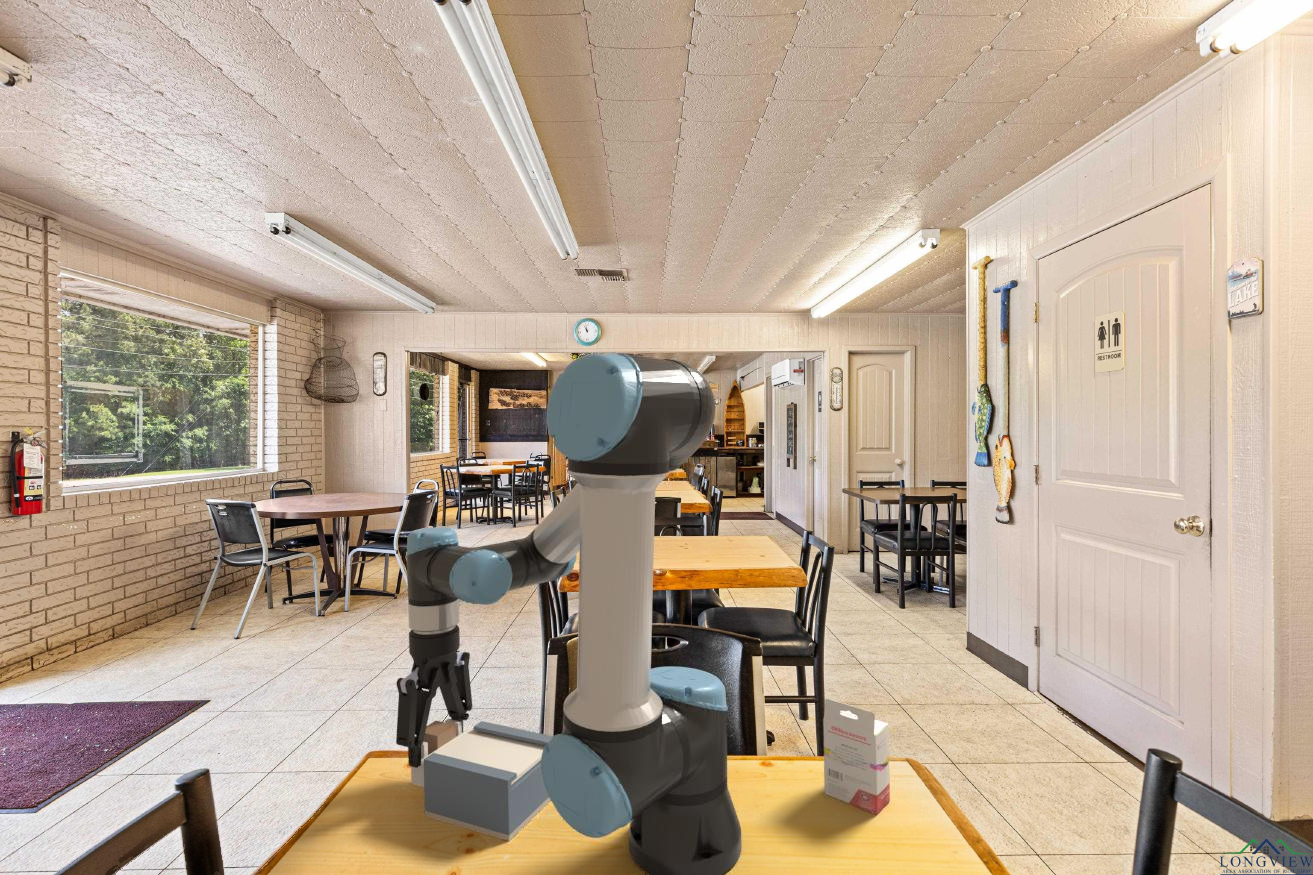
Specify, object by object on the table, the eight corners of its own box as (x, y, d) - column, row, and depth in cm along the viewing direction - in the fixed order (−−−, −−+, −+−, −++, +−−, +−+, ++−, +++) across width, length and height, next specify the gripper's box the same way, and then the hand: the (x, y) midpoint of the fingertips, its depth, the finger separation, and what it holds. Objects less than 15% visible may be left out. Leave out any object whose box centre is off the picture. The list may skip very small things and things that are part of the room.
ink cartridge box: (891, 800, 95) (890, 702, 95) (877, 816, 92) (876, 714, 92) (838, 779, 101) (837, 687, 101) (822, 793, 98) (821, 697, 97)
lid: (553, 758, 99) (553, 732, 99) (509, 796, 89) (509, 768, 89) (451, 735, 107) (451, 711, 107) (400, 767, 97) (400, 741, 97)
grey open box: (560, 790, 99) (559, 737, 99) (509, 841, 88) (507, 780, 87) (482, 771, 106) (481, 720, 105) (424, 815, 94) (423, 759, 93)
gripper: (458, 607, 111) (461, 739, 111) (365, 644, 93) (369, 800, 93) (493, 612, 108) (496, 747, 108) (404, 650, 90) (408, 812, 90)
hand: (437, 771), depth 101 cm, fingers open, 7 cm apart
